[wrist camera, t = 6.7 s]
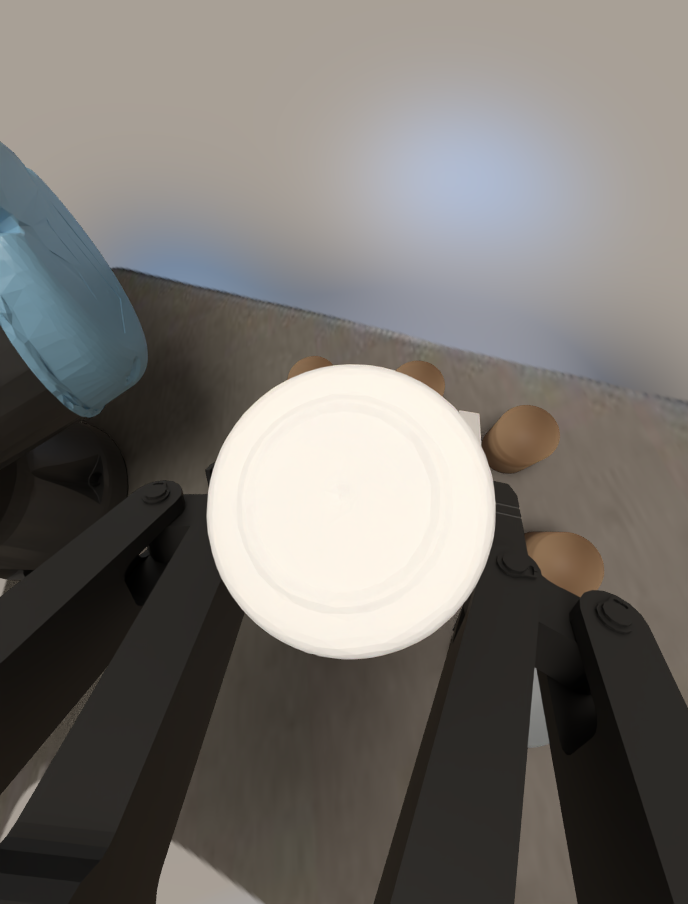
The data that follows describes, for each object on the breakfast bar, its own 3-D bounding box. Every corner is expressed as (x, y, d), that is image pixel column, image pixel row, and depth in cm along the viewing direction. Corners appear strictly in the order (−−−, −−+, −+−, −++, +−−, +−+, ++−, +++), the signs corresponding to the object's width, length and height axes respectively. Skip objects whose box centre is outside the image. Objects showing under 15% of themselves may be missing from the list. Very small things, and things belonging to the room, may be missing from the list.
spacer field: (233, 496, 32) (203, 490, 27) (344, 336, 33) (334, 303, 28) (496, 691, 25) (518, 730, 20) (617, 481, 27) (664, 471, 22)
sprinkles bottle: (448, 521, 18) (581, 497, 5) (384, 586, 17) (334, 754, 4) (383, 459, 19) (342, 301, 6) (322, 519, 19) (140, 496, 6)
